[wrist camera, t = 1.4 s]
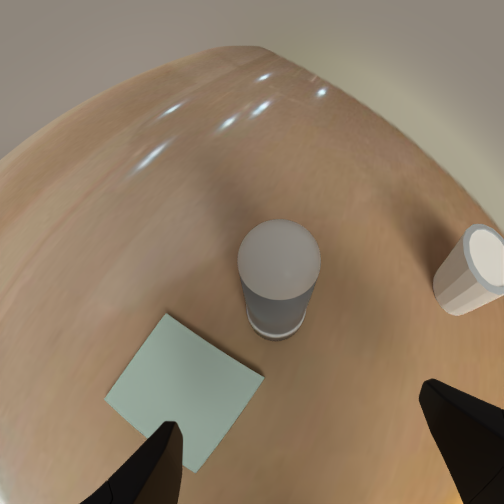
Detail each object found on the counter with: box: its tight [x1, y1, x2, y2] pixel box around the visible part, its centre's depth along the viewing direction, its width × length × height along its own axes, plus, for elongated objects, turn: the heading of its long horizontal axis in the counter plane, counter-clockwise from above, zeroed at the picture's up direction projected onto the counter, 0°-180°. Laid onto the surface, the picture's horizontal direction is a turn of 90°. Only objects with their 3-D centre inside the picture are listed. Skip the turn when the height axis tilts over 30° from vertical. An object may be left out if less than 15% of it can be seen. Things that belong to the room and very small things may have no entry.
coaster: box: [104, 313, 264, 473], centre depth 21 cm, size 10×10×1 cm
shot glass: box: [433, 224, 504, 316], centre depth 21 cm, size 7×7×7 cm
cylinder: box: [238, 219, 321, 341], centre depth 19 cm, size 5×5×12 cm
